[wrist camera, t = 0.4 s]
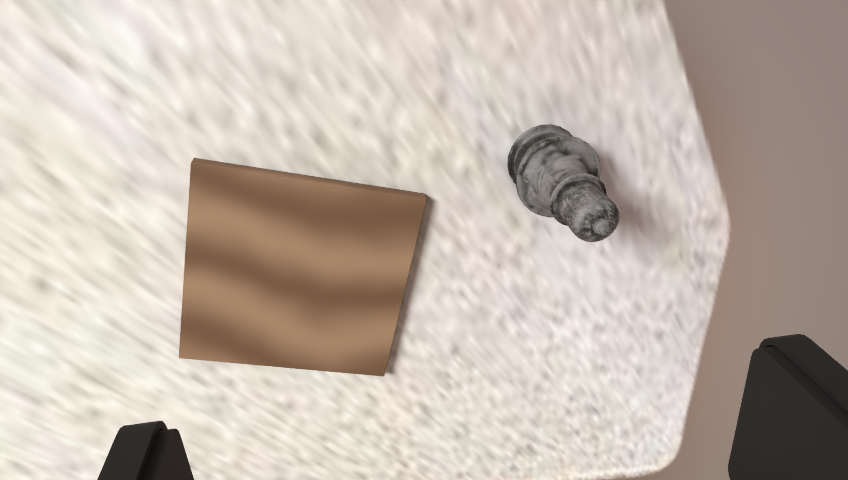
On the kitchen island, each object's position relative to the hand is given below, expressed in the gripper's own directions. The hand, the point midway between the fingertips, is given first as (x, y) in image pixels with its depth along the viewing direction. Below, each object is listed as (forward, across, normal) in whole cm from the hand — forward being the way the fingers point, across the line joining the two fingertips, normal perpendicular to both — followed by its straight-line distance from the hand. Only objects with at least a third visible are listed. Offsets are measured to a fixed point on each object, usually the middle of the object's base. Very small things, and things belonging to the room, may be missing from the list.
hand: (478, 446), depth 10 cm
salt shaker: (+35, -12, +8) cm, 37 cm away
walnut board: (+35, +7, +15) cm, 38 cm away
